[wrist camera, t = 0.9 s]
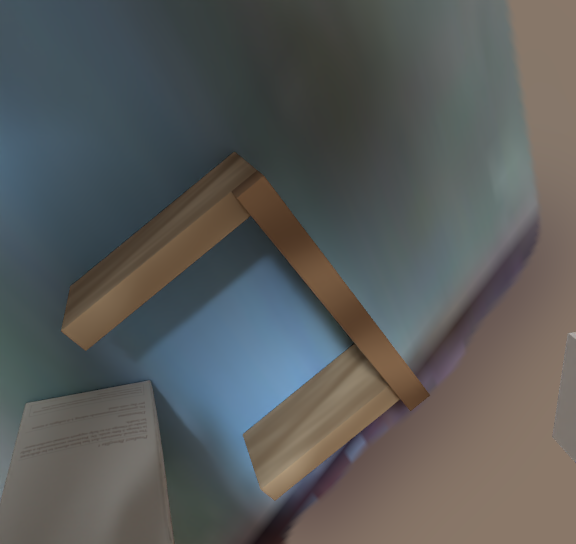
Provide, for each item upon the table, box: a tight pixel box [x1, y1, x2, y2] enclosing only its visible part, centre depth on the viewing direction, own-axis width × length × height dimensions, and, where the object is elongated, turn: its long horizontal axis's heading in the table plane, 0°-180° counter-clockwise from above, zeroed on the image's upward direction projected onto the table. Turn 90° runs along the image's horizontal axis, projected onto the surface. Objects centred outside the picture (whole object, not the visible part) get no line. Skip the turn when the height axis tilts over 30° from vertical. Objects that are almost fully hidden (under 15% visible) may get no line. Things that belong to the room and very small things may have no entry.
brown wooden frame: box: [61, 152, 430, 501], centre depth 28 cm, size 17×12×6 cm
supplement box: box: [0, 380, 175, 544], centre depth 26 cm, size 7×7×13 cm
